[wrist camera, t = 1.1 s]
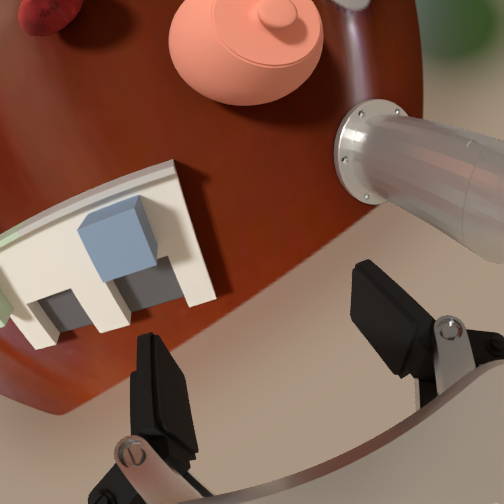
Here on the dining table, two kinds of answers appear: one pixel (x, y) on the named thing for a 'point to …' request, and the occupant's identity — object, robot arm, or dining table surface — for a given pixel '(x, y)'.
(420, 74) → the dining table surface
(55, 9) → the onion
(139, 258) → the block
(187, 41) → the sugar bowl
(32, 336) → the box
